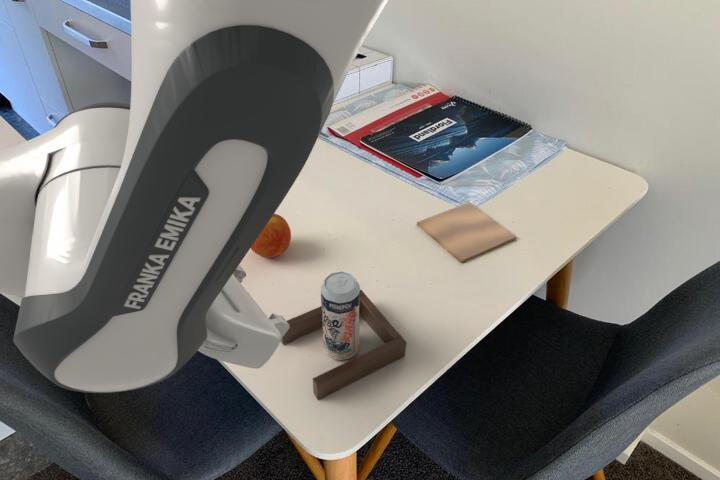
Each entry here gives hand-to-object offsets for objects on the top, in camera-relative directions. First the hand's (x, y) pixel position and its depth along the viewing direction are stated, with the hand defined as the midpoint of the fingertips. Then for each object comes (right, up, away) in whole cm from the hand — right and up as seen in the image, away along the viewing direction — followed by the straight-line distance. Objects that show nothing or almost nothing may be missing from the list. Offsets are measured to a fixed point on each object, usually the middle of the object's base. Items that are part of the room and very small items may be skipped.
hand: (260, 300), depth 56 cm
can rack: (+8, -8, +14) cm, 18 cm away
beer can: (+8, -8, +14) cm, 18 cm away
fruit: (-4, +4, +30) cm, 30 cm away
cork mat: (+29, +8, +34) cm, 45 cm away
